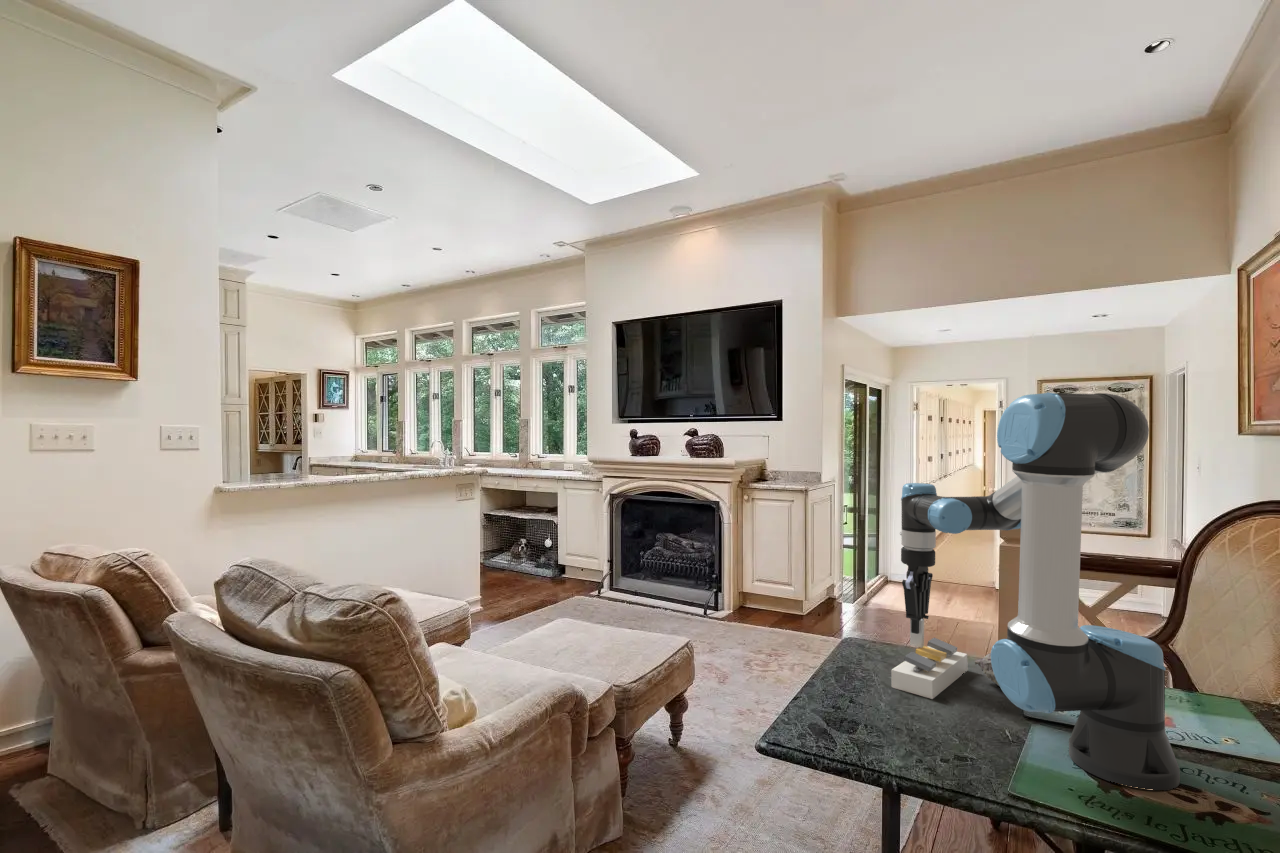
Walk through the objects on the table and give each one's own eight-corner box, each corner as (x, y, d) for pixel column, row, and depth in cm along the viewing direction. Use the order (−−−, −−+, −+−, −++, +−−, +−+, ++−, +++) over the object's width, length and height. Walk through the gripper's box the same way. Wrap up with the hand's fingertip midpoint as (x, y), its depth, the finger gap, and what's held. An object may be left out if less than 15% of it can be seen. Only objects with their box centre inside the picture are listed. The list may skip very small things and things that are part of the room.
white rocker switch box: (974, 665, 154) (973, 644, 154) (932, 699, 134) (932, 675, 134) (936, 656, 160) (936, 636, 160) (891, 687, 141) (891, 664, 141)
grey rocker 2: (956, 651, 150) (957, 647, 150) (950, 655, 147) (951, 651, 147) (933, 641, 154) (934, 637, 154) (927, 645, 151) (928, 641, 151)
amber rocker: (946, 657, 145) (946, 652, 145) (940, 661, 142) (940, 657, 142) (921, 649, 149) (922, 645, 149) (915, 653, 146) (915, 649, 146)
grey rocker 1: (935, 667, 140) (936, 662, 140) (928, 671, 137) (929, 667, 137) (910, 655, 144) (911, 651, 144) (903, 660, 141) (904, 655, 141)
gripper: (912, 541, 155) (911, 635, 155) (891, 549, 146) (890, 648, 146) (944, 546, 150) (943, 642, 150) (923, 554, 141) (922, 657, 141)
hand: (916, 645), depth 148 cm, fingers closed
